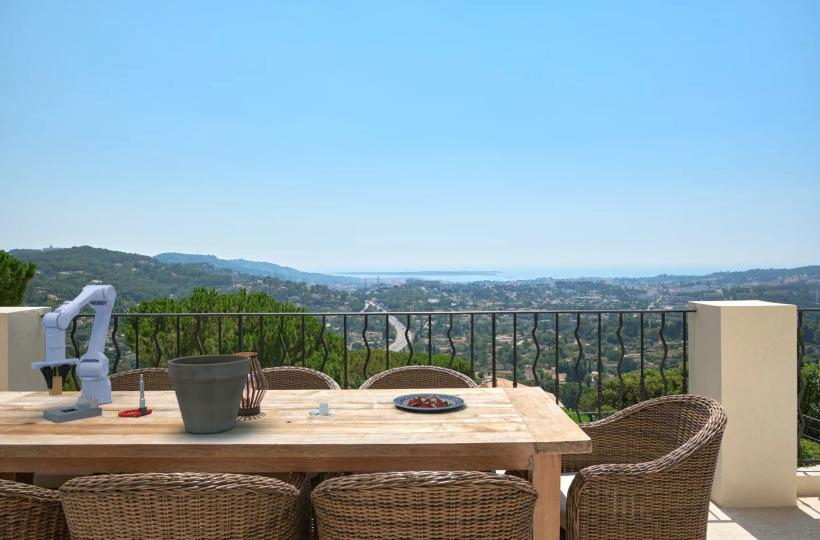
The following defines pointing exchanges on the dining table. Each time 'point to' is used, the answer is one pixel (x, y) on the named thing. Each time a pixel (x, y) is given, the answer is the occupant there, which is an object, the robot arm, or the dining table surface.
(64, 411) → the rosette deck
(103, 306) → the robot arm
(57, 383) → the tan rectangular block
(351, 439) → the dining table surface
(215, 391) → the plant pot
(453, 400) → the ceramic plate
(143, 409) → the tow hook
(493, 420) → the dining table surface
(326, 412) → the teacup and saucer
